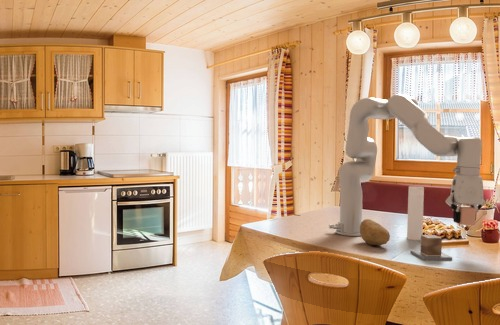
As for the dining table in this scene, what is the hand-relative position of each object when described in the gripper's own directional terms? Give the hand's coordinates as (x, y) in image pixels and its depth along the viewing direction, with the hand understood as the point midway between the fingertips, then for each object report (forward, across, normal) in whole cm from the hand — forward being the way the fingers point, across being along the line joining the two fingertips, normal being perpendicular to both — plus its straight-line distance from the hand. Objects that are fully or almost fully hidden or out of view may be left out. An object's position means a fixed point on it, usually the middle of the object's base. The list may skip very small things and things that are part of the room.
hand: (464, 221), depth 157 cm
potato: (+13, -27, +15) cm, 34 cm away
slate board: (+12, -13, -3) cm, 18 cm away
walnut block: (+11, -13, -3) cm, 17 cm away
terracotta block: (+1, 0, 0) cm, 1 cm away
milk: (+13, -5, +26) cm, 29 cm away
